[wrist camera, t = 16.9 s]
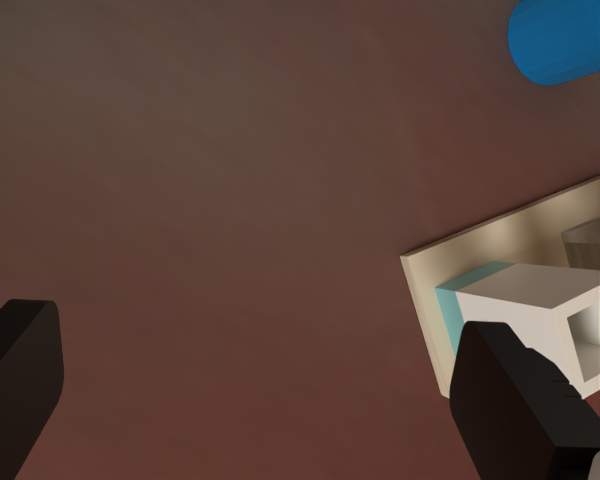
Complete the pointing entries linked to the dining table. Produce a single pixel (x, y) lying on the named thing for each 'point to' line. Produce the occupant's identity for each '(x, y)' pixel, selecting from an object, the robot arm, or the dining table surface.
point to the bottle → (555, 39)
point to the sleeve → (534, 312)
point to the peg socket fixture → (503, 256)
